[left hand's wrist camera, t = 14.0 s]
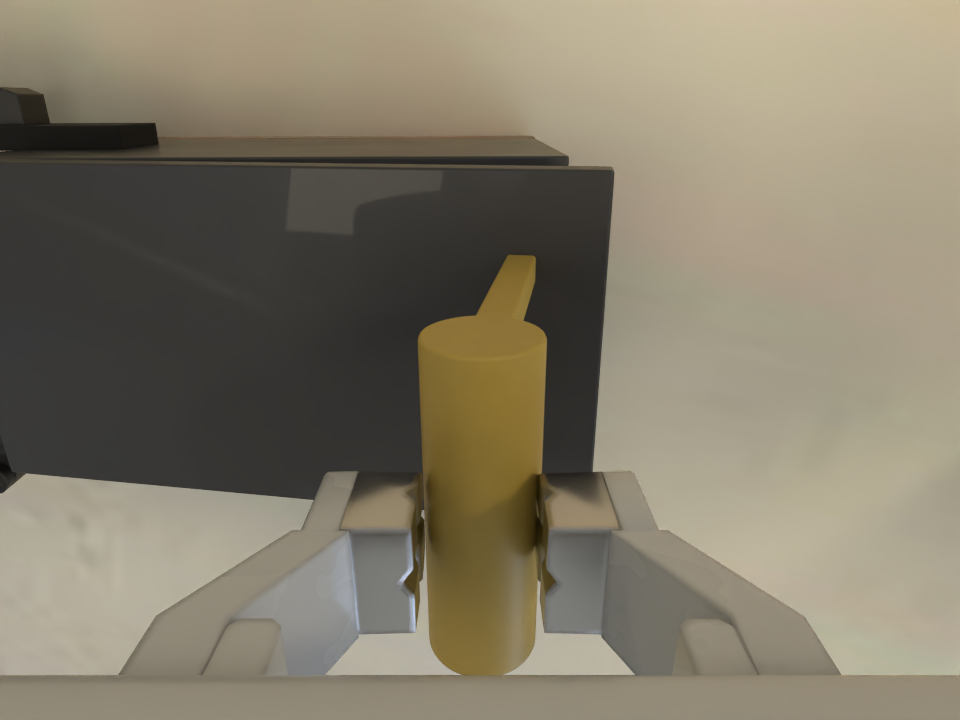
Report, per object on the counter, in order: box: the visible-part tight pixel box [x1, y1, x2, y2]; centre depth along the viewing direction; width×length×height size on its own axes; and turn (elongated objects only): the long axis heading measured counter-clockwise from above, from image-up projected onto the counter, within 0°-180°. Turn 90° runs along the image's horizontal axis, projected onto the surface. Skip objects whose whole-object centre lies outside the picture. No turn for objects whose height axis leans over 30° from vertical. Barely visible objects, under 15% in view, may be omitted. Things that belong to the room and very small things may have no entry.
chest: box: [0, 136, 569, 166], centre depth 25 cm, size 18×10×11 cm, turn 90°
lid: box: [0, 159, 614, 675], centre depth 15 cm, size 18×10×8 cm, turn 90°
